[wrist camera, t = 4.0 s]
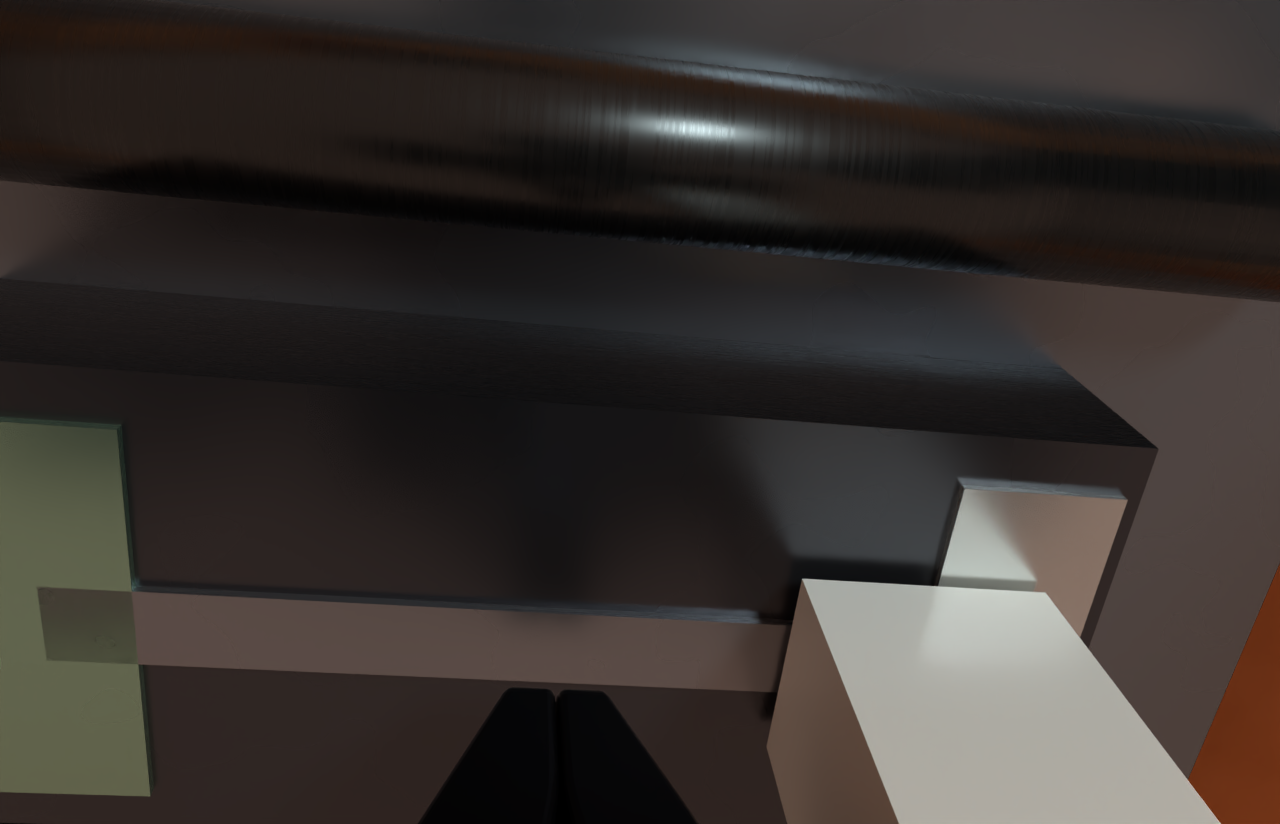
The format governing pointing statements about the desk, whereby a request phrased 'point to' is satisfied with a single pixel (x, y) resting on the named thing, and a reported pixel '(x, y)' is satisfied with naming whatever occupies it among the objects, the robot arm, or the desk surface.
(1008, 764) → the lever
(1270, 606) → the desk surface
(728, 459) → the panel
